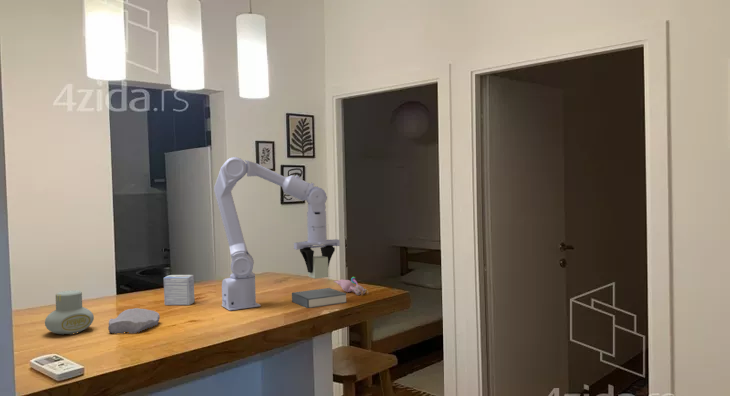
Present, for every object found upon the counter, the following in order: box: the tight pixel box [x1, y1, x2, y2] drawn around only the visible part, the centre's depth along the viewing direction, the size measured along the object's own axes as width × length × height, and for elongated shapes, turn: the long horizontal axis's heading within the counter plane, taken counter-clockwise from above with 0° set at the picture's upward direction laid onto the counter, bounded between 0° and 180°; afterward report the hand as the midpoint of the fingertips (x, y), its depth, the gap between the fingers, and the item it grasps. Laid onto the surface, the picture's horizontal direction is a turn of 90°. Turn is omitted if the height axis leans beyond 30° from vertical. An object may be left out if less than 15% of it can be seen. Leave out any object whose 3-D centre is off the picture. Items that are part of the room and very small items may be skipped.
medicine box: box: [163, 274, 195, 306], centre depth 174 cm, size 8×4×9 cm, turn 84°
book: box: [291, 287, 347, 309], centre depth 173 cm, size 13×11×3 cm
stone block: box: [107, 307, 161, 334], centre depth 146 cm, size 12×5×10 cm
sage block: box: [307, 255, 329, 280], centre depth 172 cm, size 4×4×6 cm
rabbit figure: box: [333, 276, 370, 296], centre depth 187 cm, size 6×6×15 cm
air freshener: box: [44, 289, 95, 335], centre depth 143 cm, size 11×8×10 cm
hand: (317, 271), depth 172 cm, fingers closed on sage block, 4 cm apart
